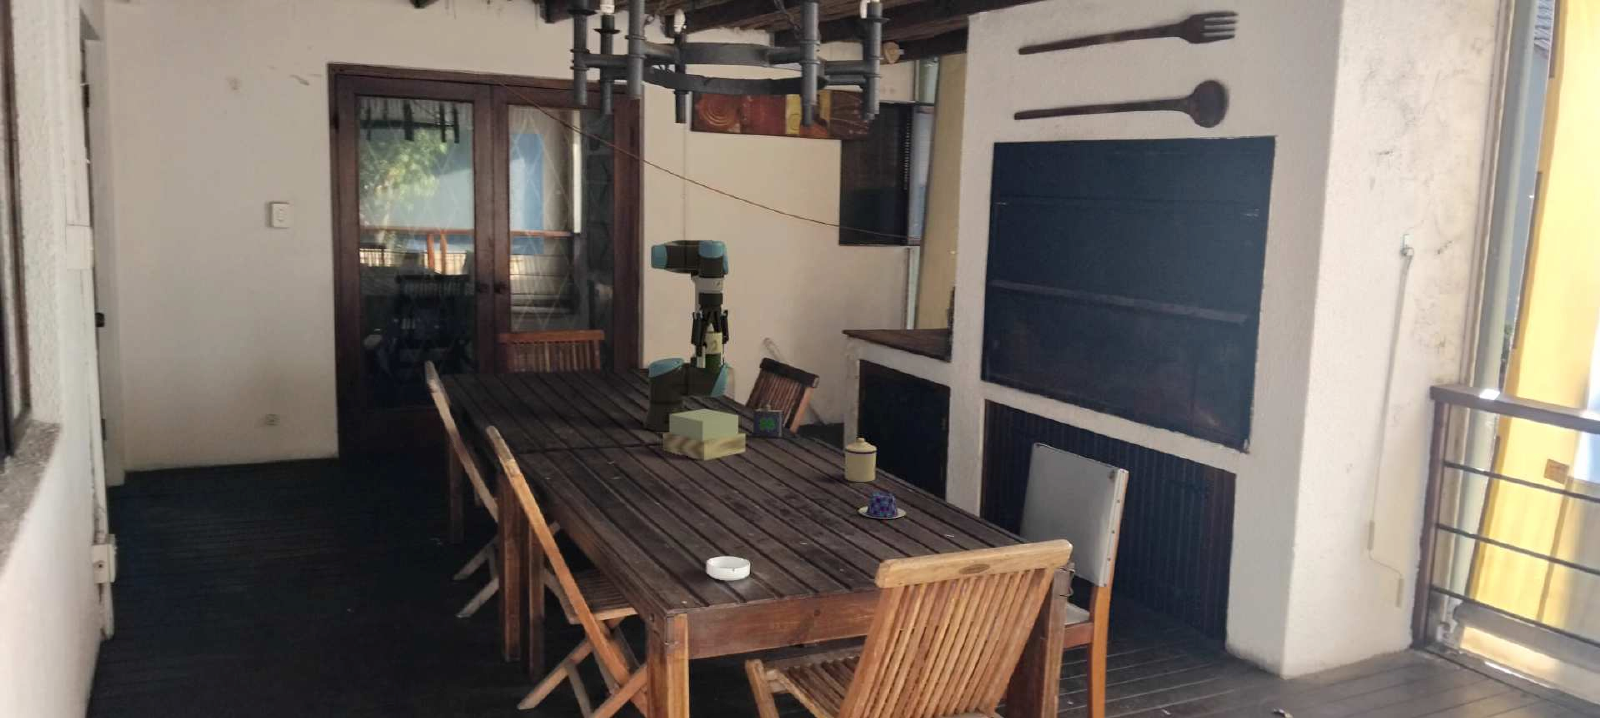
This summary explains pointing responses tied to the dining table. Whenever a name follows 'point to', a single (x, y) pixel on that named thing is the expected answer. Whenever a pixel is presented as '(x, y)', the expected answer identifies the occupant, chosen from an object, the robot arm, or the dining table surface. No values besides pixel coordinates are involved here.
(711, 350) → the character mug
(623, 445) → the dining table surface
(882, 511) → the pudding
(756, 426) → the flask
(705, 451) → the tower base
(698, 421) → the tower top
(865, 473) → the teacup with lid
